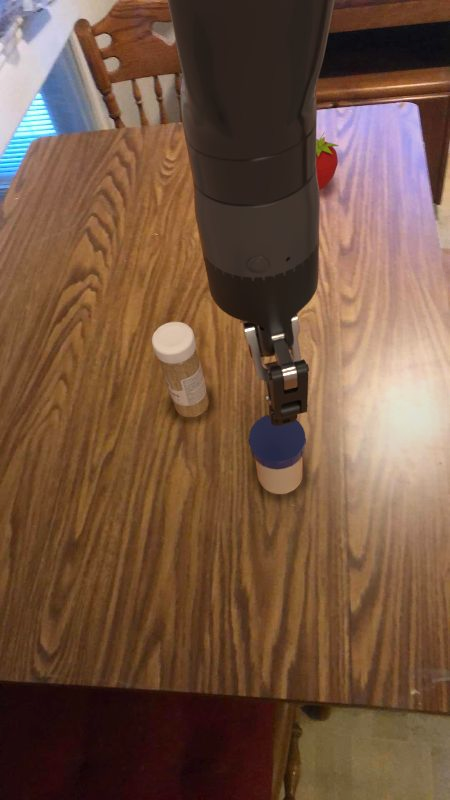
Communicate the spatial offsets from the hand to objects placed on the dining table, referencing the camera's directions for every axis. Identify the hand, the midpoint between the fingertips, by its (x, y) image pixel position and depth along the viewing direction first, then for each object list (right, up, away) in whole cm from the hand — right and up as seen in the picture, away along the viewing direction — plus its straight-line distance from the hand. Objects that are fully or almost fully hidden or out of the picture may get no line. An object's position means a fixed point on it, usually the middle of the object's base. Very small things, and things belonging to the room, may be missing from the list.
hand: (272, 385), depth 49 cm
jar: (+2, -10, +14) cm, 18 cm away
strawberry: (+11, +32, +43) cm, 55 cm away
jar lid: (+1, -5, +7) cm, 9 cm away
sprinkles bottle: (-8, -2, +21) cm, 23 cm away
